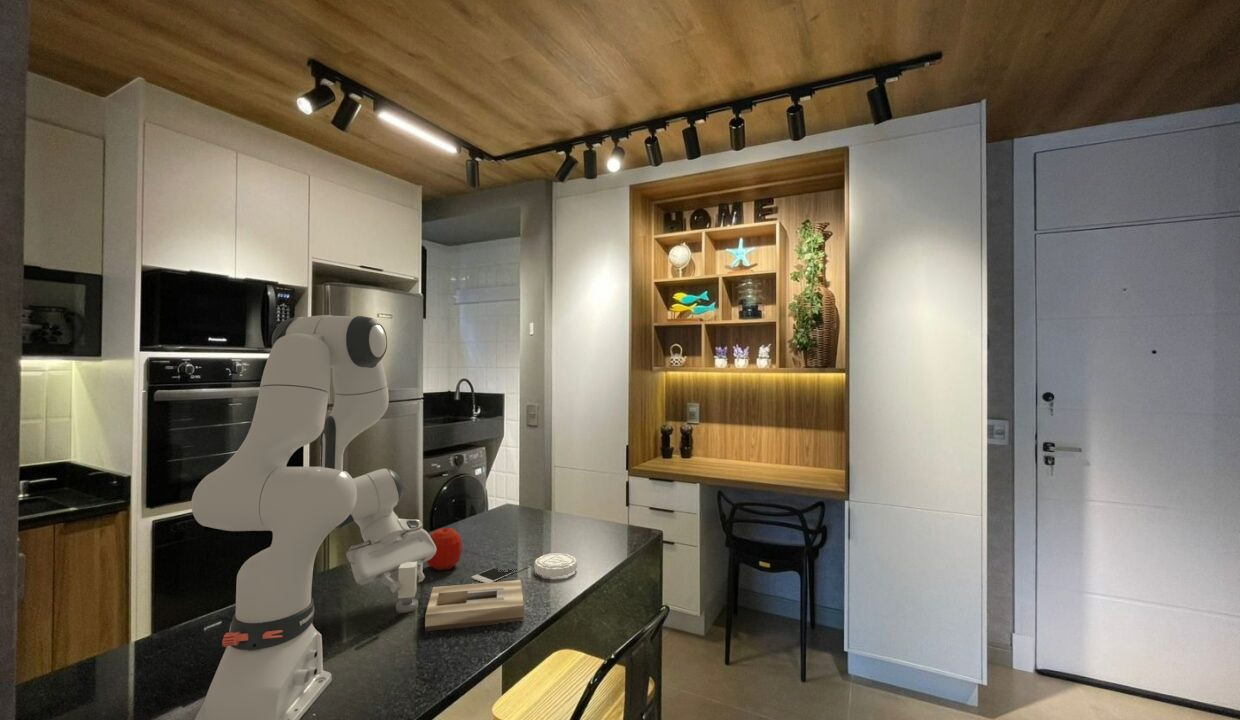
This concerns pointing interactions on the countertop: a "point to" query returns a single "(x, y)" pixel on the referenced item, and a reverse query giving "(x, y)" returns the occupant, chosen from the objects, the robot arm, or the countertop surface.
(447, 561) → the apple
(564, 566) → the container lid
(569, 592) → the countertop surface
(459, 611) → the keyhole plate
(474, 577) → the smartphone
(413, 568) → the cream peg
